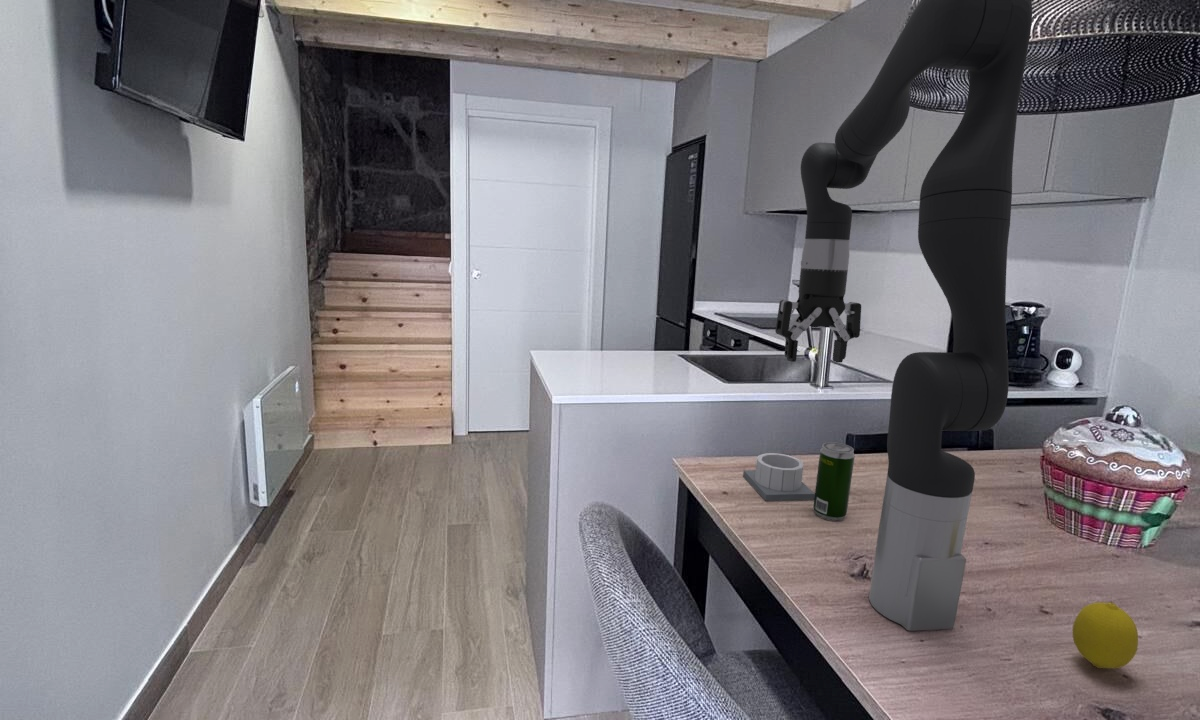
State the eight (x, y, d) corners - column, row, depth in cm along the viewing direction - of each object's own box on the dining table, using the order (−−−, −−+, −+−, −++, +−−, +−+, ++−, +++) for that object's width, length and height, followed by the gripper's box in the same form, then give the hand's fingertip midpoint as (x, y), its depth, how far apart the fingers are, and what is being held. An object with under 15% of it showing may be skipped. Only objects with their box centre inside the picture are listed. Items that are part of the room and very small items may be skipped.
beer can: (837, 524, 100) (846, 455, 98) (806, 513, 104) (814, 446, 101) (851, 515, 104) (861, 448, 101) (821, 504, 107) (830, 439, 105)
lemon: (1058, 646, 72) (1071, 585, 70) (1113, 657, 70) (1129, 594, 69) (1079, 678, 67) (1094, 612, 65) (1139, 690, 65) (1157, 624, 64)
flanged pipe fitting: (814, 500, 109) (817, 472, 108) (765, 501, 108) (768, 473, 107) (788, 475, 120) (790, 450, 119) (743, 476, 118) (745, 450, 117)
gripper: (794, 266, 99) (785, 365, 102) (875, 269, 101) (864, 366, 104) (774, 265, 106) (766, 357, 109) (851, 267, 108) (841, 358, 111)
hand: (814, 361), depth 106 cm, fingers open, 8 cm apart
